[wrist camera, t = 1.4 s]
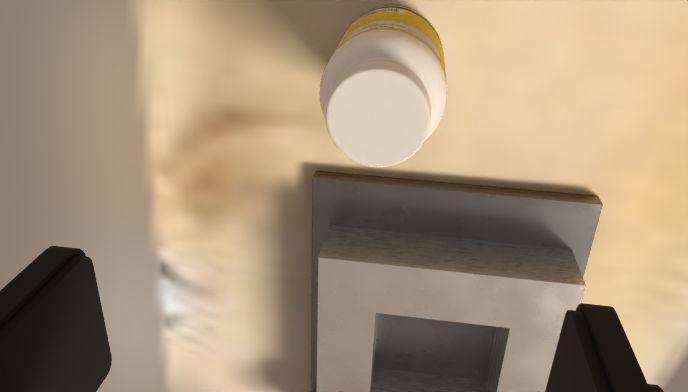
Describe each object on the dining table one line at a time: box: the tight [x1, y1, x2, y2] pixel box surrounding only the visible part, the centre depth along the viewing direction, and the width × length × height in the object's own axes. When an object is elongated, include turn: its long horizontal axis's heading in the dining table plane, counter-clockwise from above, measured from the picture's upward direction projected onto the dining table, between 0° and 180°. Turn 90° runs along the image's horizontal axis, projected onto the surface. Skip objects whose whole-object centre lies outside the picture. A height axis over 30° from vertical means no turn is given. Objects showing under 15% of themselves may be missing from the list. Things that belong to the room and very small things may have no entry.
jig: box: [311, 171, 603, 392], centre depth 36 cm, size 20×16×5 cm
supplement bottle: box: [320, 5, 447, 167], centre depth 26 cm, size 5×5×10 cm
